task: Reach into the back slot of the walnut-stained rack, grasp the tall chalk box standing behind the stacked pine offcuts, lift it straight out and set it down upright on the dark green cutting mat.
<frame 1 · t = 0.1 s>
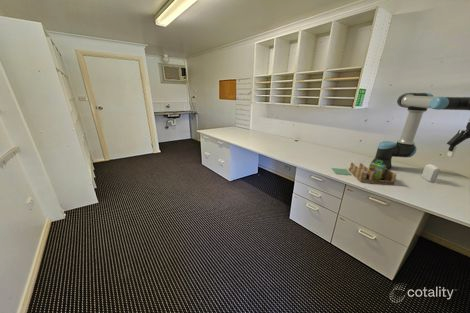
hand: (462, 156, 113), 28 cm above the table, fingers open, 13 cm apart
rack: (369, 177, 148), on the table
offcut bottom: (361, 178, 146), resting in rack, touching offcut top
cutting mat: (341, 171, 158), on the table
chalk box: (374, 177, 148), resting in rack
offcut top: (362, 174, 145), point 3 cm above the table, touching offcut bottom
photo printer: (427, 179, 145), on the table
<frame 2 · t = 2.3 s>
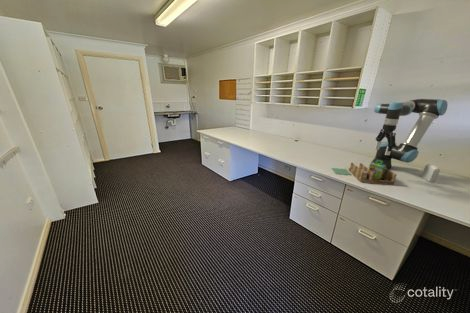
hand: (381, 152, 140), 22 cm above the table, fingers open, 13 cm apart
nothing on the table moved.
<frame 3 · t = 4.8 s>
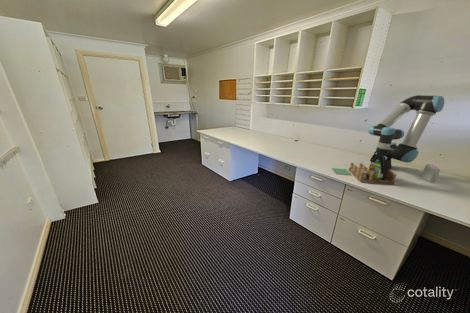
hand: (375, 173, 146), 3 cm above the table, fingers closed on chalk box, 12 cm apart
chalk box: (374, 177, 148), resting in rack, touching gripper
everything else where it was.
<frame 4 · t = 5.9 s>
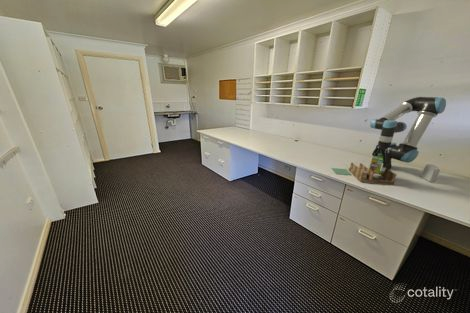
hand: (377, 167, 145), 9 cm above the table, fingers closed on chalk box, 12 cm apart
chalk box: (376, 171, 146), point 5 cm above the table, touching gripper
everything else where it was.
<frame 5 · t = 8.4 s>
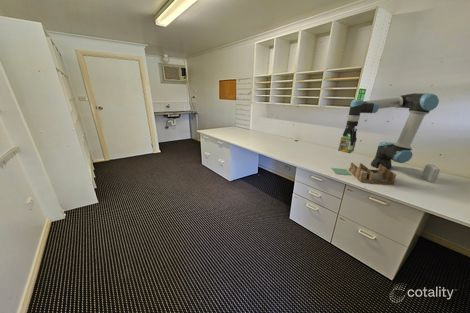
hand: (346, 147, 150), 22 cm above the table, fingers closed on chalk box, 12 cm apart
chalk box: (345, 151, 151), point 19 cm above the table, touching gripper
everything else where it was.
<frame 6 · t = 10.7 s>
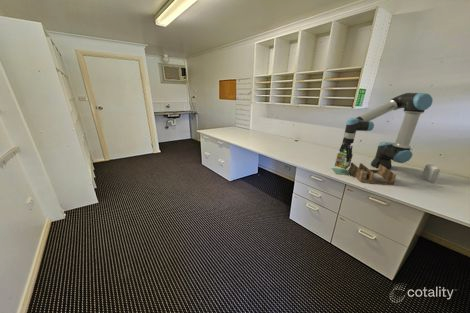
hand: (343, 162, 155), 8 cm above the table, fingers closed on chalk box, 12 cm apart
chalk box: (342, 166, 156), point 5 cm above the table, touching gripper
everything else where it was.
when the fingers open (5 cm above the table, at t = 12.6 s): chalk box drops 1 cm, resting on cutting mat.
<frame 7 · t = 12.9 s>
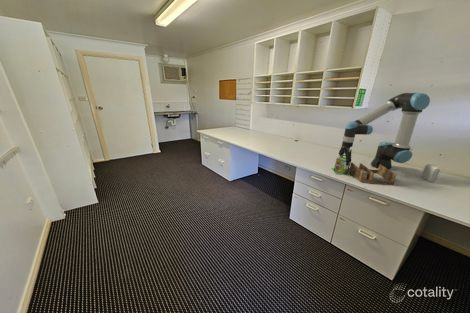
hand: (342, 165, 156), 6 cm above the table, fingers open, 13 cm apart
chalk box: (341, 171, 158), resting on cutting mat
everything else where it was.
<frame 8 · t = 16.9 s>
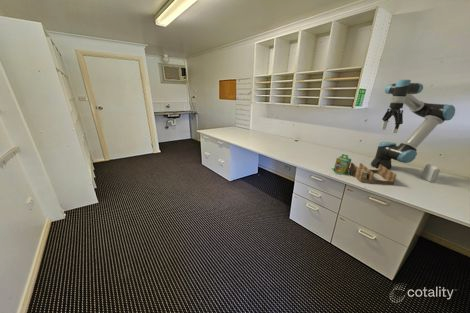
hand: (388, 131, 141), 37 cm above the table, fingers open, 13 cm apart
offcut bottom: (361, 178, 146), resting in rack
offcut top: (362, 174, 145), point 3 cm above the table
everything else where it was.
at the end: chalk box inside the target area (0.3 cm from its centre), resting on cutting mat; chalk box tilted 0°; the gripper is holding nothing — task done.
